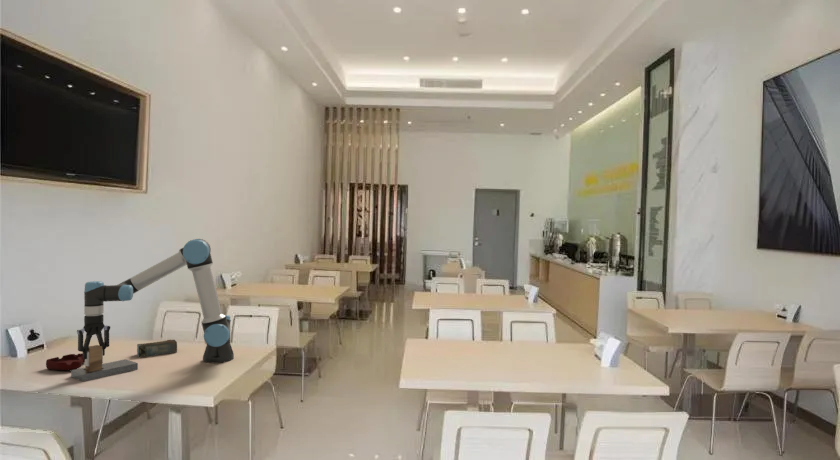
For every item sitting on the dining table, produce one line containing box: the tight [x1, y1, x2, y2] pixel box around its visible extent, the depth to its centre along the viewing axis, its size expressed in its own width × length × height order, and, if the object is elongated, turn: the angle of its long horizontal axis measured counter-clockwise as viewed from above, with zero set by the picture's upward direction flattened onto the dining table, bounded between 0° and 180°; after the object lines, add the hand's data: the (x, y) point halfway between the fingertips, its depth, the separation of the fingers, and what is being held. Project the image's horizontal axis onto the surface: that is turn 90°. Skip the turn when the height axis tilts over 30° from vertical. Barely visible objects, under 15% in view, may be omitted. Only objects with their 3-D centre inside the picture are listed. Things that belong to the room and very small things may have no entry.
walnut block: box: [84, 344, 103, 372], centre depth 234 cm, size 5×5×12 cm
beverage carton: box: [136, 339, 178, 358], centre depth 275 cm, size 8×19×7 cm, turn 125°
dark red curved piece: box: [45, 352, 85, 371], centre depth 246 cm, size 18×16×5 cm
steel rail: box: [70, 358, 139, 382], centre depth 238 cm, size 12×24×3 cm, turn 146°
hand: (93, 364), depth 234 cm, fingers closed on walnut block, 5 cm apart
